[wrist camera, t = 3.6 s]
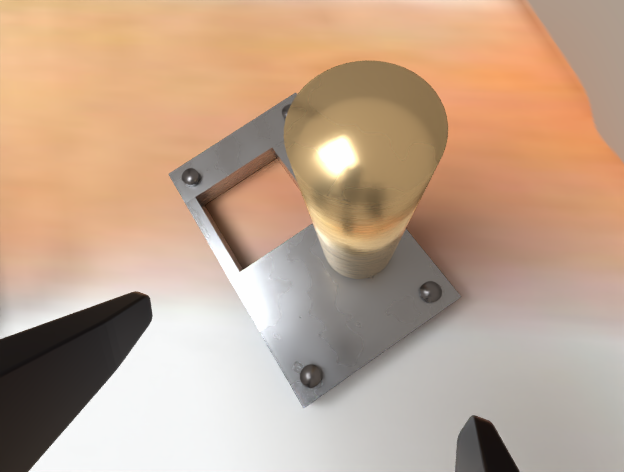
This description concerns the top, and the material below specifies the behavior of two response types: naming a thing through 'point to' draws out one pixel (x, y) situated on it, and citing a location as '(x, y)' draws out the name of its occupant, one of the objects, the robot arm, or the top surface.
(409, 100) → the disc
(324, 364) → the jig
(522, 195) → the top surface
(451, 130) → the top surface
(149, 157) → the top surface
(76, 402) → the robot arm
